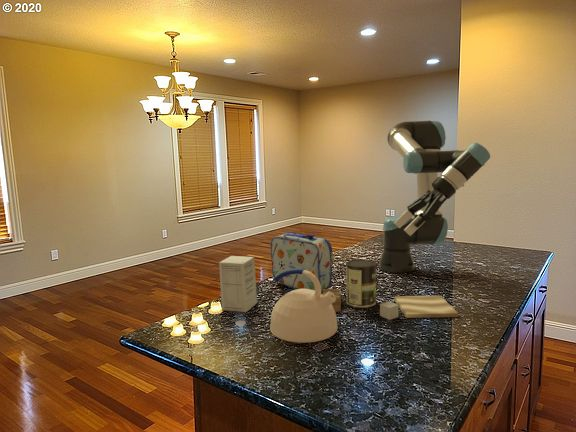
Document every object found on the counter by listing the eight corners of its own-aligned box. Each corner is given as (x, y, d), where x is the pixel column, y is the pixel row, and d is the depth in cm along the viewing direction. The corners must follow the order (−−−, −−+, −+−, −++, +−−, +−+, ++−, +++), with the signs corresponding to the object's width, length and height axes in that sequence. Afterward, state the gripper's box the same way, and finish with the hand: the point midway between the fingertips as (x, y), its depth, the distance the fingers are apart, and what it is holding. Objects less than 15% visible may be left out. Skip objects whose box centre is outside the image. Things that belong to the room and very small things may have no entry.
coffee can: (375, 297, 145) (376, 259, 142) (376, 308, 135) (376, 267, 132) (346, 296, 147) (346, 258, 145) (345, 307, 137) (344, 266, 135)
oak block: (322, 299, 145) (322, 289, 144) (339, 299, 144) (339, 288, 144) (323, 305, 140) (323, 293, 139) (341, 304, 139) (340, 293, 139)
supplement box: (257, 303, 143) (255, 256, 140) (246, 312, 134) (244, 263, 131) (233, 300, 146) (230, 255, 143) (220, 310, 137) (218, 261, 135)
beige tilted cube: (379, 316, 129) (380, 304, 128) (388, 313, 131) (388, 301, 130) (389, 320, 125) (389, 307, 125) (398, 317, 127) (398, 304, 127)
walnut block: (320, 308, 137) (320, 293, 136) (334, 306, 138) (334, 292, 137) (326, 313, 132) (326, 298, 131) (340, 311, 133) (340, 296, 133)
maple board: (394, 299, 142) (394, 296, 142) (440, 298, 142) (440, 295, 142) (406, 317, 126) (406, 314, 126) (458, 316, 126) (458, 313, 126)
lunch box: (339, 291, 152) (338, 234, 149) (322, 298, 145) (321, 238, 142) (286, 277, 171) (284, 226, 168) (268, 284, 164) (266, 230, 160)
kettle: (319, 350, 108) (317, 284, 105) (256, 333, 118) (253, 274, 116) (349, 322, 124) (349, 265, 122) (292, 310, 135) (290, 257, 133)
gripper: (471, 194, 122) (420, 244, 124) (442, 188, 146) (400, 230, 149) (454, 177, 121) (403, 228, 124) (428, 173, 146) (385, 216, 148)
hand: (401, 229), depth 136 cm, fingers open, 13 cm apart
